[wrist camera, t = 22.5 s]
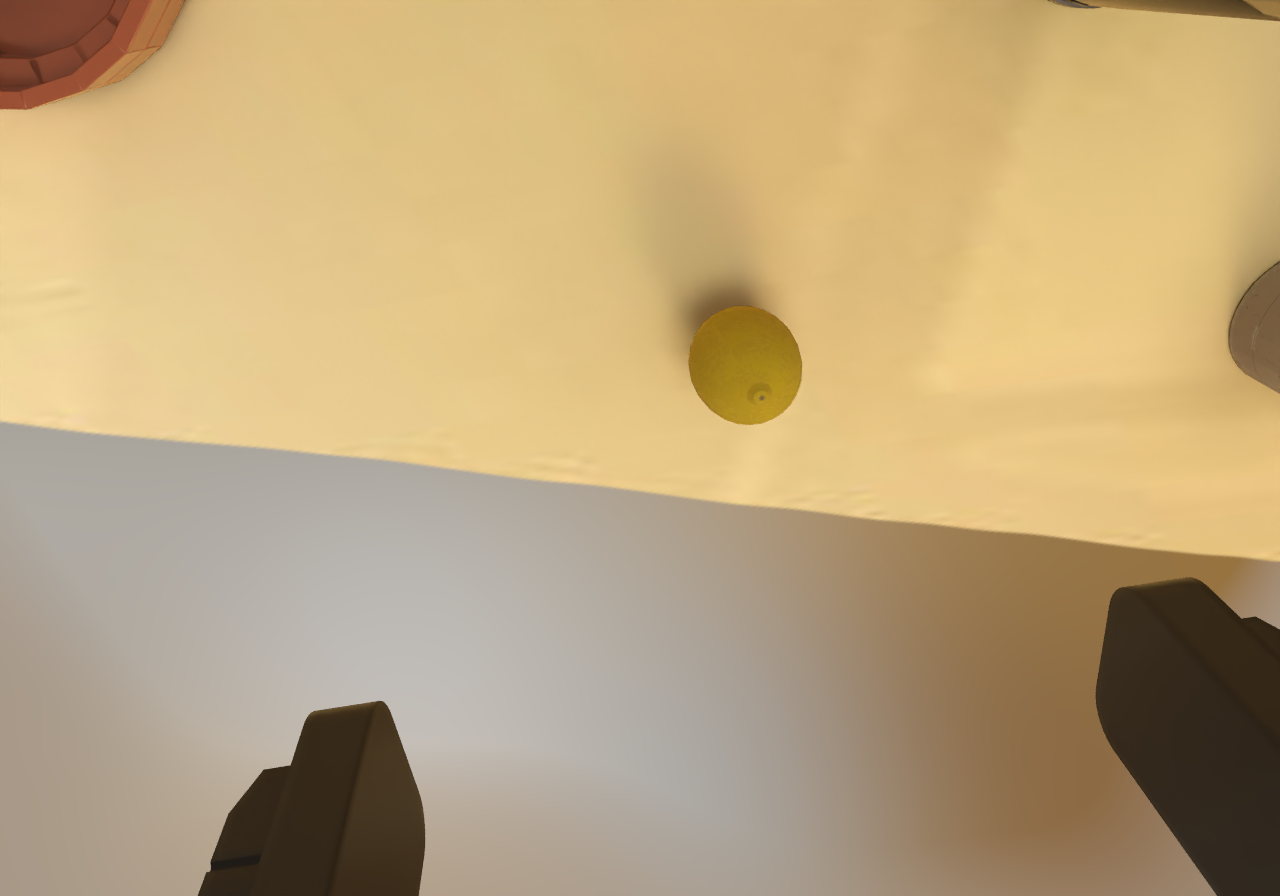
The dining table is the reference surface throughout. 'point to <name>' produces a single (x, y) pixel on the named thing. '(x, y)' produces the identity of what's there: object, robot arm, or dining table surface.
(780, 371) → the lemon
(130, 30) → the dish
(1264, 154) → the dining table surface
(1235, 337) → the thermos bottle
